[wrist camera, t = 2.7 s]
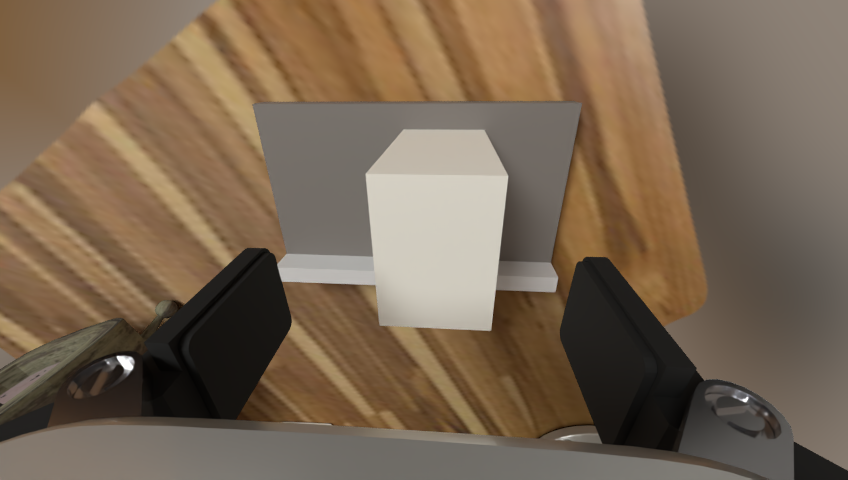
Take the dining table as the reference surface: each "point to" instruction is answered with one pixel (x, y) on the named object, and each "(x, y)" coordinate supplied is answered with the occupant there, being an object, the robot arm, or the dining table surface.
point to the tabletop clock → (67, 361)
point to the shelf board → (364, 144)
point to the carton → (437, 229)
